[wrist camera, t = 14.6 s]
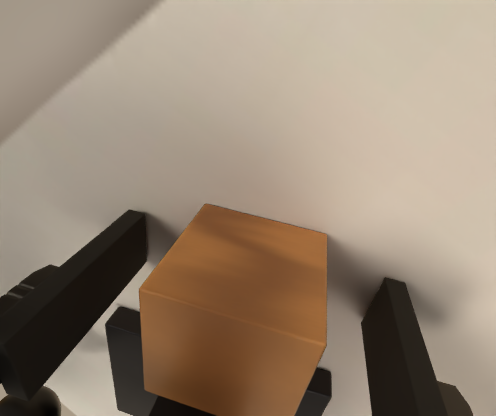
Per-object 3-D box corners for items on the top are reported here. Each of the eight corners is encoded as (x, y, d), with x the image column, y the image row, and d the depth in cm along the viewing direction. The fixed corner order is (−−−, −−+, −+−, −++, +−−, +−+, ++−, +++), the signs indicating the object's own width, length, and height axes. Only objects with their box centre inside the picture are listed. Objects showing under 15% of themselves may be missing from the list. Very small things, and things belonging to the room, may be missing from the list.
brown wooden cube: (197, 289, 15) (143, 391, 10) (204, 202, 12) (137, 289, 8) (297, 319, 14) (284, 440, 10) (327, 233, 11) (327, 346, 7)
